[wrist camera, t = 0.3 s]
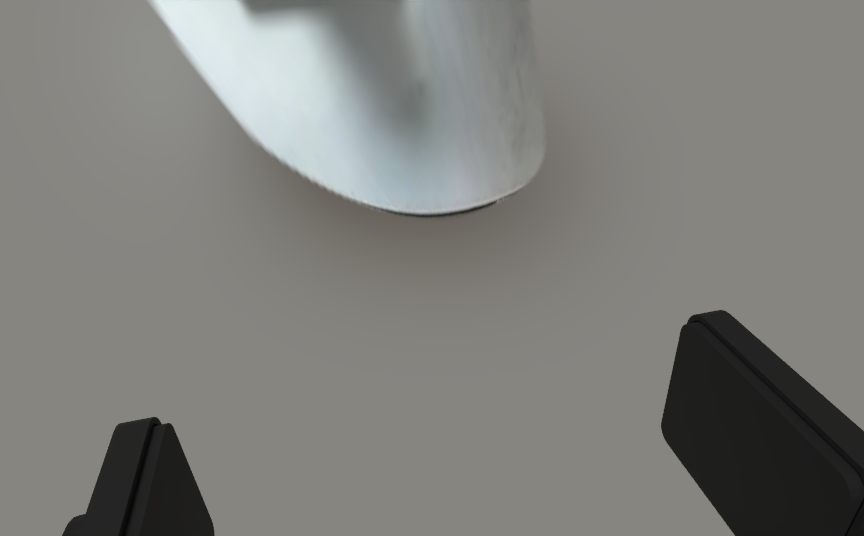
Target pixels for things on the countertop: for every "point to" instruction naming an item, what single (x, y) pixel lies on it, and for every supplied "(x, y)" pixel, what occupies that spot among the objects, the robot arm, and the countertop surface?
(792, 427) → the robot arm
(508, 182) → the countertop surface
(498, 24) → the countertop surface
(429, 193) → the countertop surface
